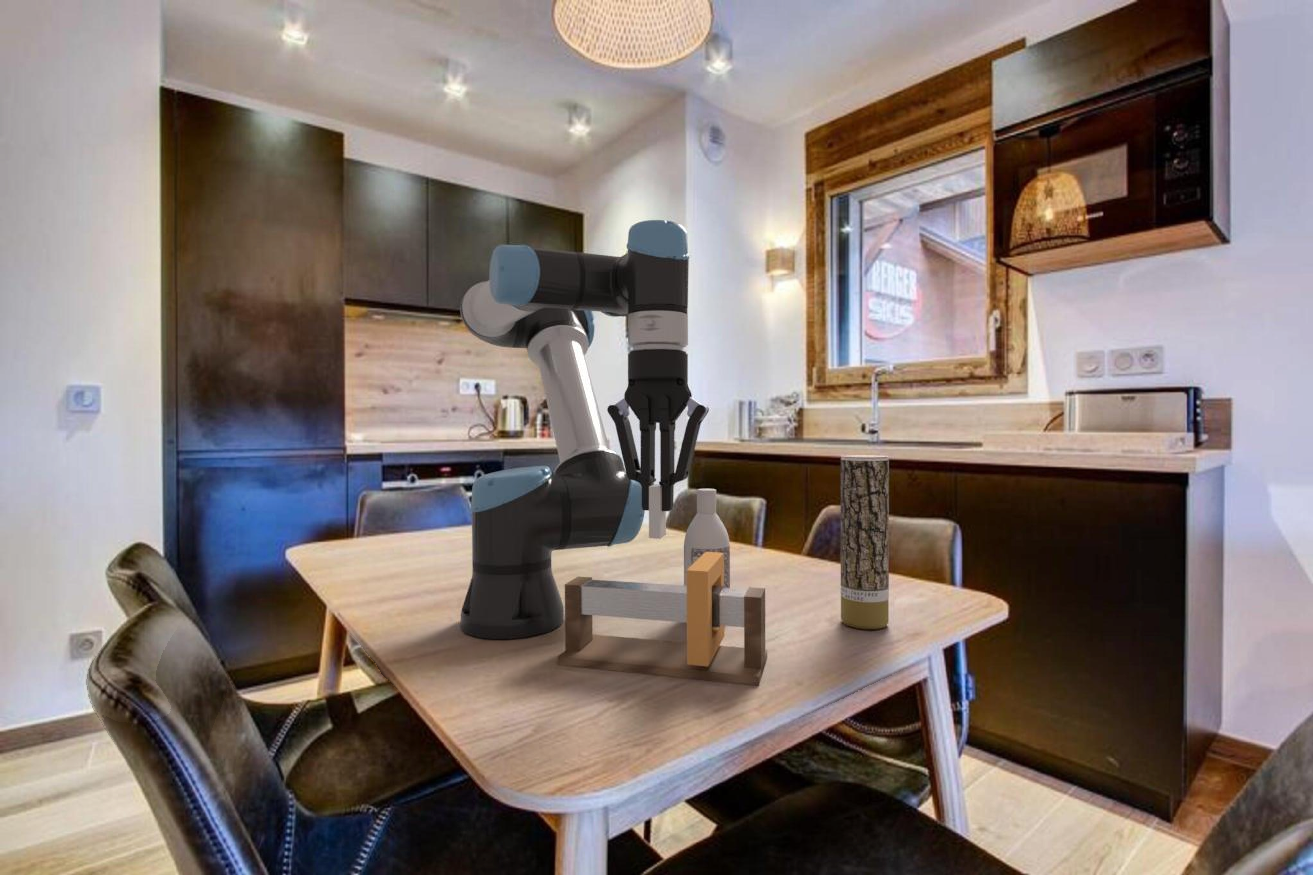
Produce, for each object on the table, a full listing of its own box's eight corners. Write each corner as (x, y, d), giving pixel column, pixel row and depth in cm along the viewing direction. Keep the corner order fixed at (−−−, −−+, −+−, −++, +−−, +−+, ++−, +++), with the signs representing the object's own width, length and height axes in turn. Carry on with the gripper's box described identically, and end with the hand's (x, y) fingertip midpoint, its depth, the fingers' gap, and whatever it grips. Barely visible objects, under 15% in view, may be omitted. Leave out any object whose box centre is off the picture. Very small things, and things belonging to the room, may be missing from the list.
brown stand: (557, 664, 80) (557, 588, 80) (585, 640, 89) (584, 572, 89) (759, 685, 73) (758, 602, 73) (767, 657, 82) (767, 583, 82)
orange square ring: (687, 664, 75) (686, 570, 74) (705, 634, 85) (705, 551, 85) (708, 666, 74) (707, 571, 74) (724, 635, 84) (724, 552, 84)
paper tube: (892, 632, 91) (892, 457, 91) (842, 629, 93) (842, 457, 92) (884, 618, 98) (885, 455, 98) (838, 615, 99) (838, 455, 99)
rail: (576, 615, 82) (576, 584, 82) (588, 607, 86) (587, 577, 86) (748, 629, 76) (748, 596, 76) (752, 619, 80) (752, 587, 80)
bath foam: (739, 623, 96) (738, 490, 96) (698, 629, 93) (697, 492, 93) (715, 611, 102) (714, 486, 102) (676, 617, 99) (675, 488, 99)
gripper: (598, 348, 79) (598, 539, 80) (702, 345, 75) (701, 545, 76) (618, 353, 86) (618, 528, 87) (714, 351, 82) (713, 533, 83)
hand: (657, 536), depth 81 cm, fingers closed
